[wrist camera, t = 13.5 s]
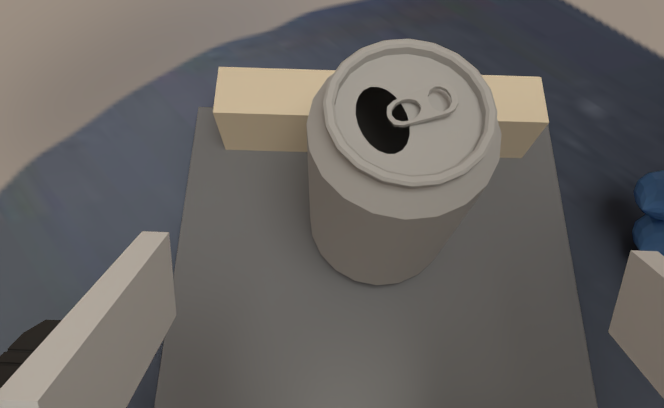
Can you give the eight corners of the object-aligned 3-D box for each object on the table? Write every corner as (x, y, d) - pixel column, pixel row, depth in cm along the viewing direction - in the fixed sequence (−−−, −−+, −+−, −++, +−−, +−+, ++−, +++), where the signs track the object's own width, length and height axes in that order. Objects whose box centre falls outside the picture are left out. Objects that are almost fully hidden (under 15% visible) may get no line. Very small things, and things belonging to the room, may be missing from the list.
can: (296, 182, 30) (283, 41, 19) (415, 154, 31) (471, 4, 20) (329, 305, 27) (338, 224, 16) (460, 269, 28) (554, 170, 17)
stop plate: (540, 125, 33) (576, 78, 28) (606, 519, 24) (674, 542, 20) (202, 115, 32) (182, 65, 28) (145, 510, 24) (103, 532, 19)
